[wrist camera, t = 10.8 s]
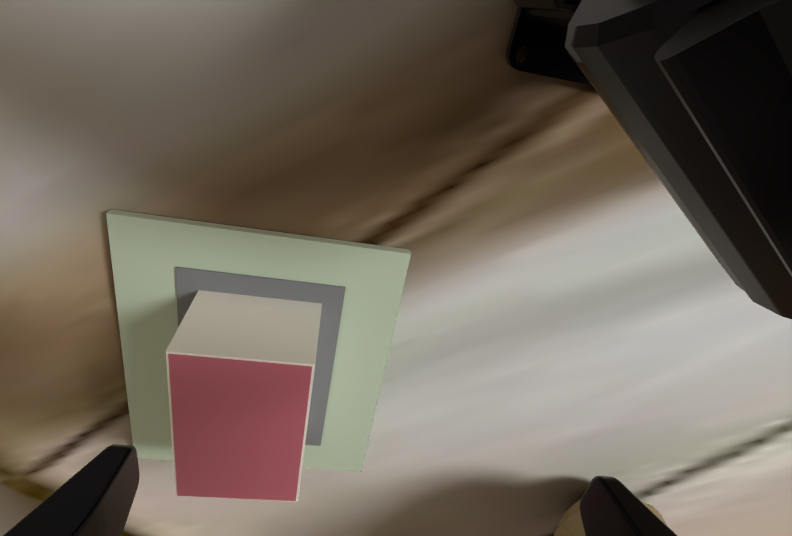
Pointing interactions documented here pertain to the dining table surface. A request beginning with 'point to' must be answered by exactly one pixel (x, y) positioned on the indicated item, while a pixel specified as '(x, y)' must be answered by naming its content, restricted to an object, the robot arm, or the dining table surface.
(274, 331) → the card box
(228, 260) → the mat
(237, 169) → the dining table surface
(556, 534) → the decorative mushroom
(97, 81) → the dining table surface
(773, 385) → the dining table surface
